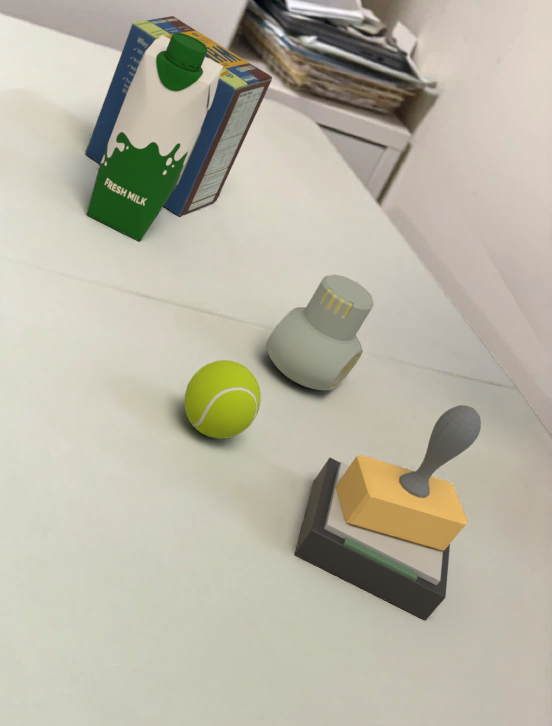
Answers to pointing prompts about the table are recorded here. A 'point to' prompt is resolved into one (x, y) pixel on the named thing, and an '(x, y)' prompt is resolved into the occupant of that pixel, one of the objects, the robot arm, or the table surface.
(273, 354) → the air freshener
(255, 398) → the tennis ball
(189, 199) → the protein box
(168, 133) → the milk carton
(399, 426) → the table surface
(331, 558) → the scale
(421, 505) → the rubber stamp
